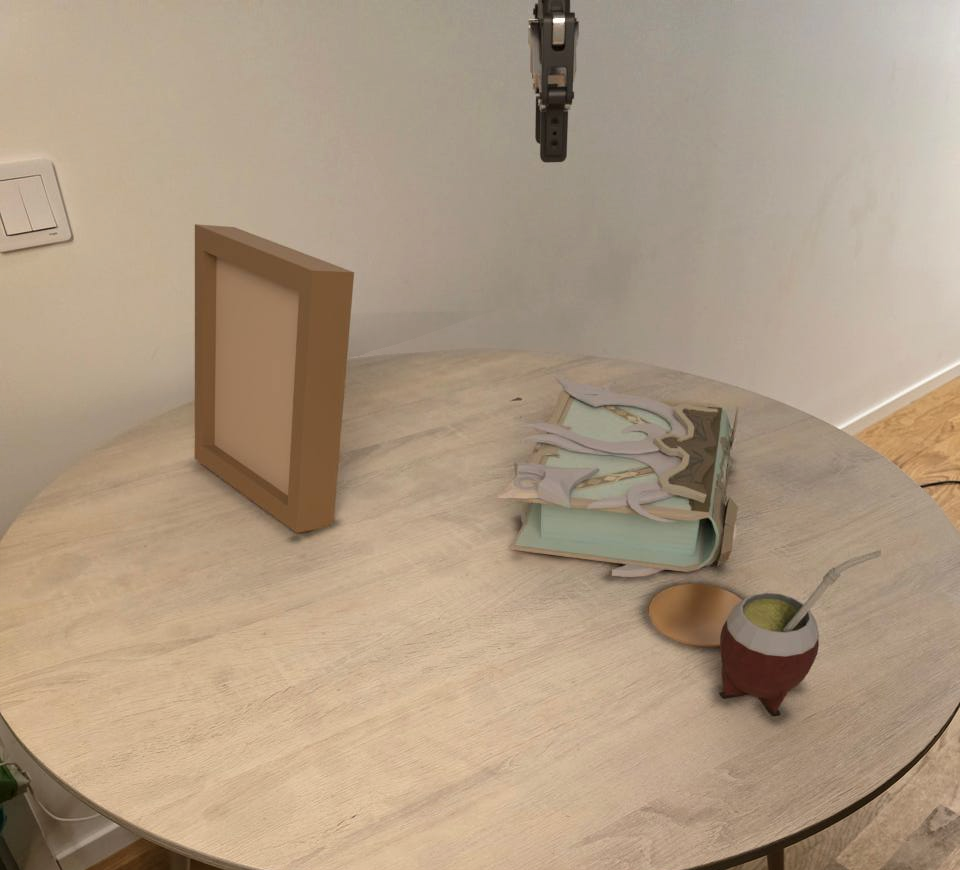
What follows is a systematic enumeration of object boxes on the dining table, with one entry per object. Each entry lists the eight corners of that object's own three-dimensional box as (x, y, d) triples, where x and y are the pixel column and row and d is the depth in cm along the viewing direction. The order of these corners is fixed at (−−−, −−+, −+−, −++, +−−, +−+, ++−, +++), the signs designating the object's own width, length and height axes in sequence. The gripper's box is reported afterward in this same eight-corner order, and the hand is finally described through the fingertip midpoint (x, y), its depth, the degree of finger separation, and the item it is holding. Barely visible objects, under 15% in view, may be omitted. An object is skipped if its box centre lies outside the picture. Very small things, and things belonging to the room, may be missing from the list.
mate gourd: (697, 672, 73) (725, 512, 63) (785, 656, 74) (826, 497, 65) (738, 734, 67) (775, 569, 58) (833, 717, 68) (885, 552, 59)
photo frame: (297, 541, 90) (254, 284, 74) (196, 466, 103) (141, 234, 87) (414, 492, 97) (397, 249, 81) (306, 428, 110) (274, 208, 94)
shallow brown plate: (739, 588, 82) (740, 582, 82) (764, 649, 75) (765, 644, 75) (641, 589, 82) (641, 584, 82) (657, 651, 75) (657, 646, 75)
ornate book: (726, 606, 81) (739, 449, 103) (743, 516, 75) (753, 369, 97) (486, 574, 86) (547, 430, 108) (483, 487, 80) (549, 353, 102)
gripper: (615, -88, 63) (601, 167, 73) (595, -86, 74) (585, 136, 84) (509, -85, 63) (509, 170, 73) (505, -83, 74) (505, 138, 84)
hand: (550, 151), depth 79 cm, fingers open, 8 cm apart
